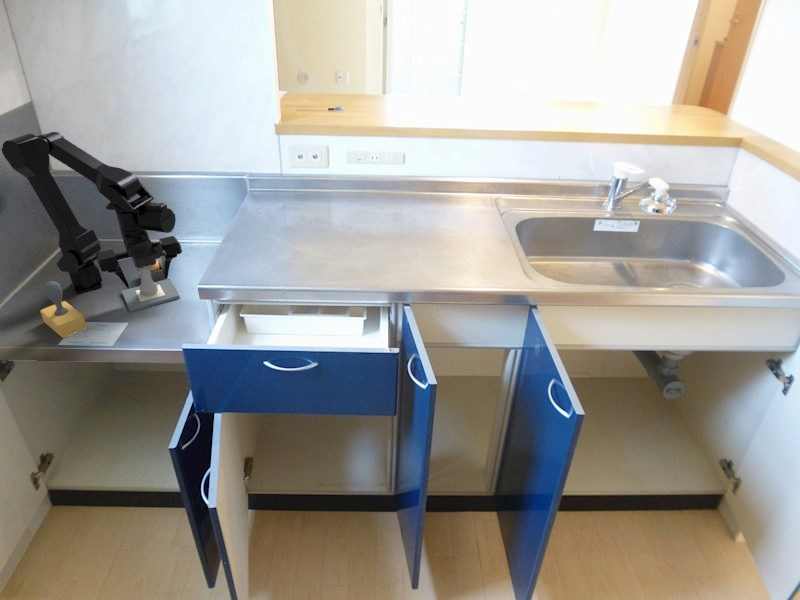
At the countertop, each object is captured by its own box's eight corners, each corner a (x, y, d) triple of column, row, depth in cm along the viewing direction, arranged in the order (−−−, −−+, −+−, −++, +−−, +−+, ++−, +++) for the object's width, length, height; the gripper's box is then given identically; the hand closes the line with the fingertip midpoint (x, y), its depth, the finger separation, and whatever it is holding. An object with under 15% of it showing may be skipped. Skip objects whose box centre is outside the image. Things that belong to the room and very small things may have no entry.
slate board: (130, 311, 139) (129, 308, 138) (122, 293, 146) (121, 290, 145) (180, 298, 144) (179, 295, 144) (169, 281, 151) (169, 278, 151)
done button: (147, 274, 149) (145, 266, 148) (144, 269, 152) (142, 261, 150) (161, 271, 151) (159, 263, 150) (158, 265, 153) (156, 257, 152)
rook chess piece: (141, 298, 142) (134, 271, 137) (139, 289, 145) (132, 262, 141) (159, 295, 144) (153, 268, 139) (157, 286, 147) (151, 259, 142)
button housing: (146, 284, 150) (144, 274, 148) (142, 275, 153) (139, 266, 152) (167, 279, 152) (164, 269, 150) (162, 271, 156) (159, 261, 154)
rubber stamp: (88, 328, 133) (73, 284, 126) (62, 339, 129) (46, 294, 122) (69, 312, 138) (53, 270, 132) (44, 322, 134) (27, 279, 128)
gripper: (95, 249, 124) (113, 308, 133) (181, 230, 133) (193, 287, 141) (87, 230, 132) (105, 287, 141) (169, 213, 141) (181, 268, 149)
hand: (147, 282), depth 143 cm, fingers open, 9 cm apart
